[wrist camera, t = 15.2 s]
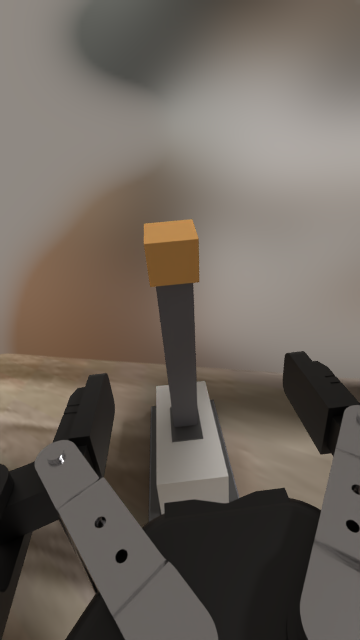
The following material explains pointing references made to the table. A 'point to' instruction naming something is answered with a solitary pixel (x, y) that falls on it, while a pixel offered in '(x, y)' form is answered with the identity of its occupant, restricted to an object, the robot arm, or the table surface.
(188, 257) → the lever
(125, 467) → the table surface
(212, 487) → the breaker base
